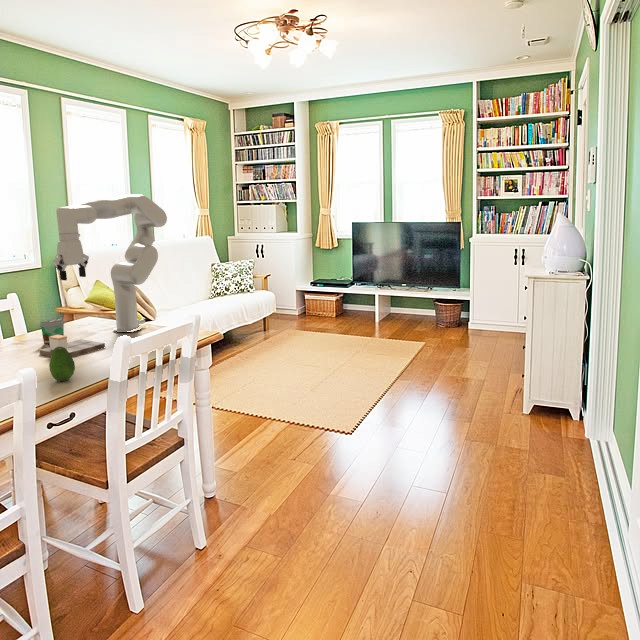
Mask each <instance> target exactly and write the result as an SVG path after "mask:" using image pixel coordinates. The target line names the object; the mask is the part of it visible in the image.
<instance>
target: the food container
mask: <svg viewBox="0 0 640 640" xmlns="http://www.w3.org/2000/svg"><path fill="white" fill-rule="evenodd" d="M65 324H66V320H65V319H64V317H63V316H56V318H55V319H50V320H47V321H40V323H39V327H40V328H41V334H42V339H43V345H44V344H50V341H49V337H50V336H54V335H63V336H65V334H64V333H65V330H64V328H65V327H64V326H65Z"/></svg>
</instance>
